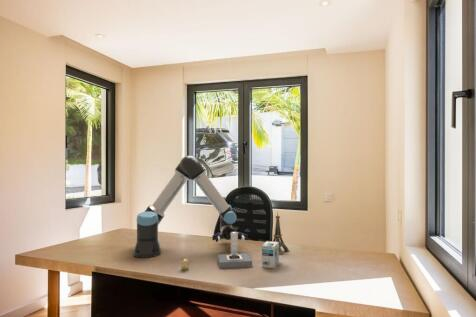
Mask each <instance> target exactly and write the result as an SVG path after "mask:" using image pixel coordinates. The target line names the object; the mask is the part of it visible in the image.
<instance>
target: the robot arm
mask: <svg viewBox="0 0 476 317" xmlns="http://www.w3.org/2000/svg"><path fill="white" fill-rule="evenodd" d="M190 180H191V181H193V182H195V183H196V185H197V186H198V187H199V189H200V190H201V191H202V193H203V194H204V196H205V197H206V198H207V199H208V201H209V203H211V205H212V206H213V207H214V209H215V210H216V211H217V213H218V214H219V215H220V216H219V217H220V218H219V219H220V221H219V224H220V226H219V231H220V232H217V233H215V234H213V235H212V241H215V243H218V244H221V240H228V241H229V240H230V241H231V232H235V230H234V228H233V224H234V223H235V222H236V221H237V219H238V218H237V214H236V213H235V211H233V208H232V205H231V204H228V203H227V201H226V200H225V198H224V197H223V196H222V194H221V193H220V191H218V189H217V188H216V186H215V185H214V183H213V182H212V181H211V180H210V178H209V177H208V176H207V174H206V170H205V169H204V167H203V165H202V164H201V162H200V160H199V158H198V157H196V156H195V155H186V156H184V157H182V158H181V160H180V162H179V163H178V165H177V166H176V167H175V169H174V174H173V175H172V177H171V178H170V180H169V181H168V183H167V184H166V185H165V187H164V188H163V190H162V191H161V193H159V195H158V197H157V198H156V199H155V201H154V202H153V203H152V204H149V205H148V206H147V208H146V209H145V210H144V211H142V212H139V213H138V214H137V215H136V242H135V245H134V249H133V256H134V257H135V256H136V258H140V257H141V258H142V259H143V258H144V259H145V258H146V259H148V258H153V257H157V256H159V255H161V253H162V248H161V245H160V242H159V224H160V223H161V222H162V220H163V219H164V218H165V212H166V210H167V209H168V207H169V206H170V205H171V204H172V202H173V201H174V199H175V198H176V196H177V195H178V194H179V192H180V191H181V189H182V188H183V187H184V186H185V184H186V183H187V182H188V181H190ZM237 232H238V240H239V239H240V240H241V242H242V243H243V244H245V242H246V240H248V238H249V236H248V234H247V233H244V232H241V231H237Z"/></svg>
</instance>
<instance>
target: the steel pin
mask: <svg viewBox="0 0 476 317" xmlns="http://www.w3.org/2000/svg"><path fill="white" fill-rule="evenodd" d="M238 232H239V231H234V232H231V239H230V254H231V259H238V254H239V243H238V242H239V239H238Z"/></svg>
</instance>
